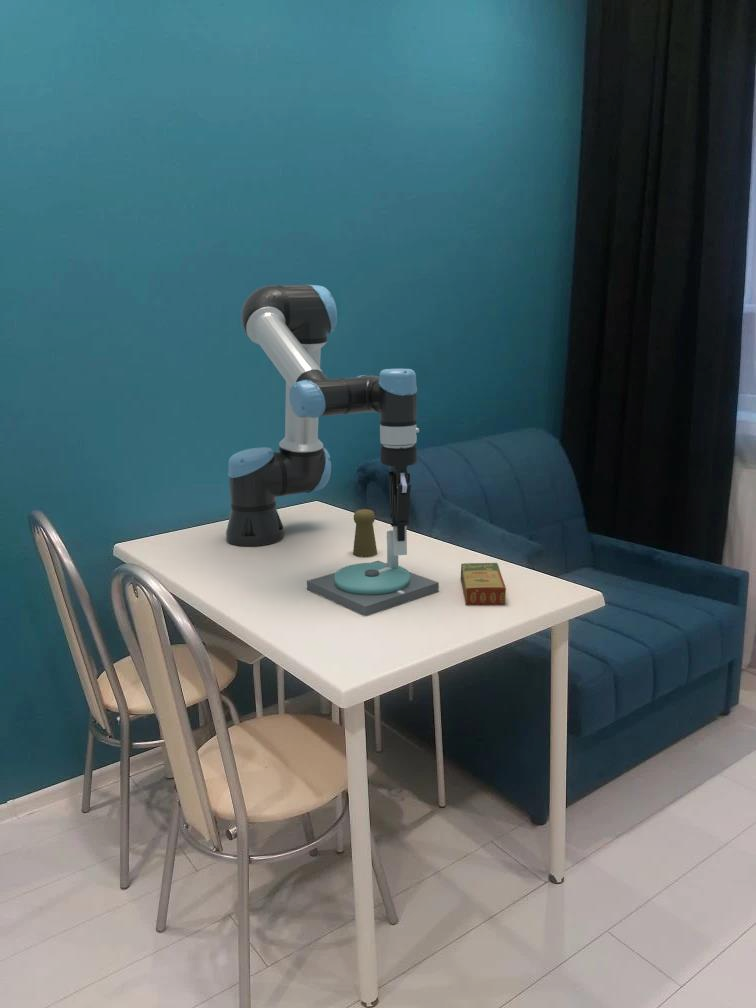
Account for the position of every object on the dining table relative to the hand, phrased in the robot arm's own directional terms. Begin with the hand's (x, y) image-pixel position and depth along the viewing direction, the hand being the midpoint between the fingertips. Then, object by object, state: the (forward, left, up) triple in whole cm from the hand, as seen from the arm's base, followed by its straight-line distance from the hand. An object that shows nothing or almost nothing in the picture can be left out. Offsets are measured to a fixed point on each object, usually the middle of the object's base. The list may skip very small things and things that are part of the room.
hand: (400, 554), depth 166 cm
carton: (+13, +11, -8) cm, 19 cm away
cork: (-24, +9, -8) cm, 27 cm away
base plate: (-3, -6, -8) cm, 10 cm away
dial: (-3, -6, -5) cm, 8 cm away
